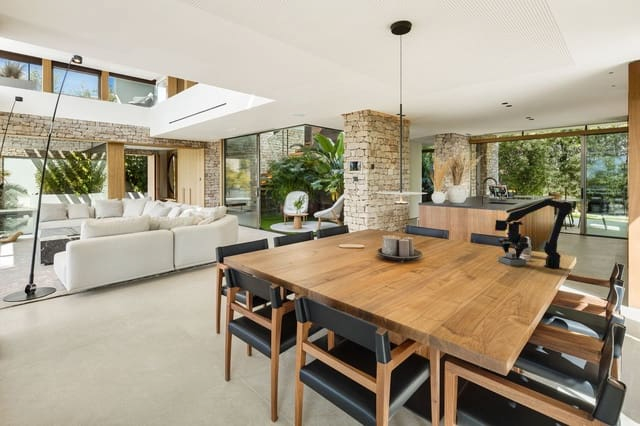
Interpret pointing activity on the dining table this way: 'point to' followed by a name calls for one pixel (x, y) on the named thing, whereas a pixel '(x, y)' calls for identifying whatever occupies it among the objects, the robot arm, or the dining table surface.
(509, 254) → the metal box
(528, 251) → the container
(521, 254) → the pinkish brown block
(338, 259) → the dining table surface
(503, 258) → the tote
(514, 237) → the robot arm
